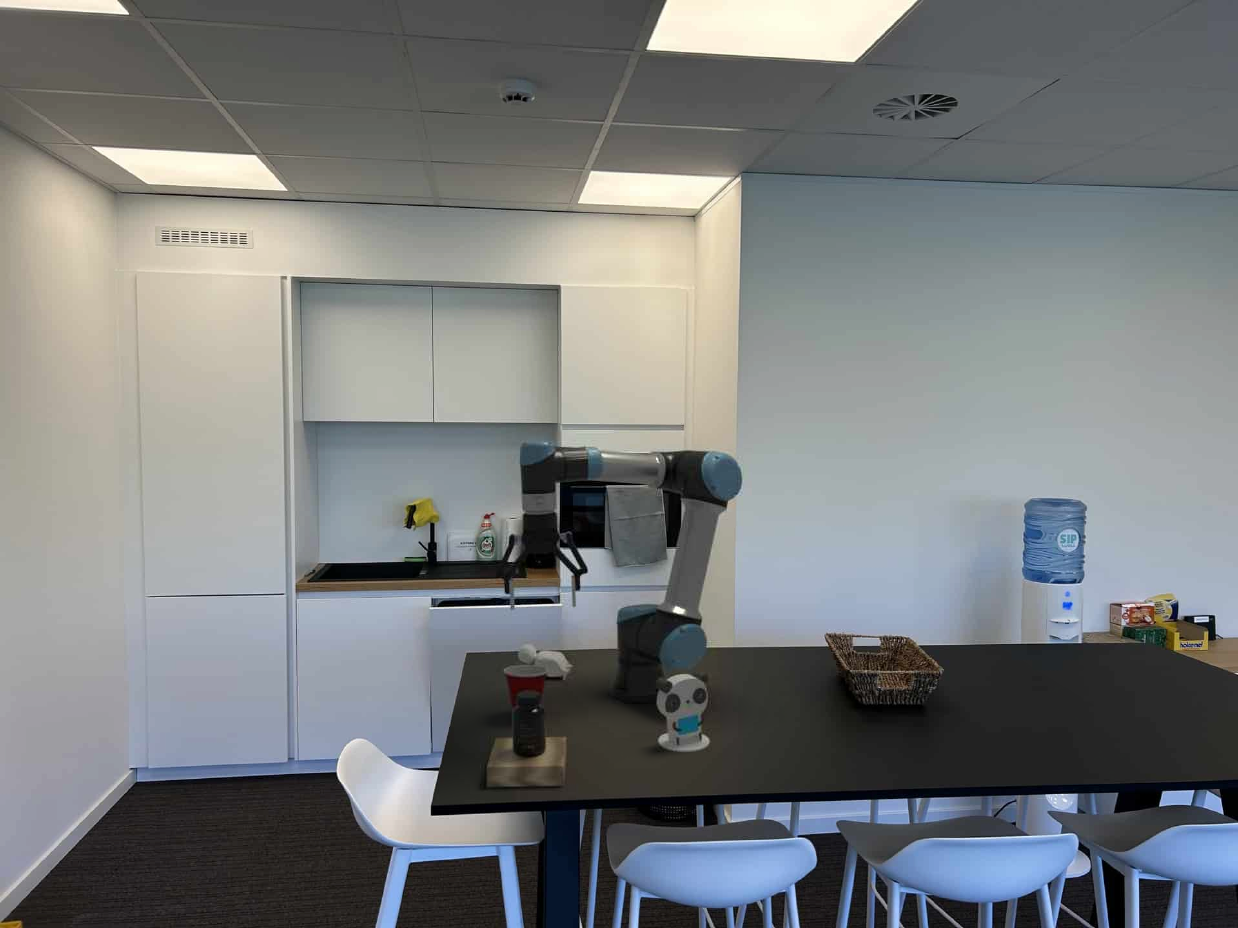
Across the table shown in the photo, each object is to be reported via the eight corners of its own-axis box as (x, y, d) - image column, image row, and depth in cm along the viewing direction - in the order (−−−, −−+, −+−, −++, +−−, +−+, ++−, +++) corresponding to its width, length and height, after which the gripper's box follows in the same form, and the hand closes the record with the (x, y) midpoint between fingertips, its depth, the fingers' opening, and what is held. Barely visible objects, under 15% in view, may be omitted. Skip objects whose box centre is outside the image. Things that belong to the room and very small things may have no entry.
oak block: (566, 755, 187) (566, 736, 186) (563, 785, 172) (563, 765, 171) (496, 756, 186) (496, 737, 186) (487, 786, 171) (486, 766, 171)
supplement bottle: (513, 745, 182) (512, 689, 181) (545, 743, 182) (545, 687, 182) (512, 758, 175) (511, 700, 174) (546, 757, 176) (545, 698, 175)
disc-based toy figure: (672, 756, 186) (672, 687, 185) (646, 738, 196) (646, 672, 195) (719, 745, 191) (719, 678, 190) (691, 728, 201) (691, 665, 200)
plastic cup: (556, 711, 213) (555, 663, 212) (538, 727, 203) (537, 676, 202) (516, 707, 217) (515, 659, 216) (496, 722, 206) (495, 672, 206)
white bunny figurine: (565, 682, 245) (517, 661, 247) (576, 655, 244) (527, 634, 246) (559, 692, 237) (509, 670, 239) (570, 664, 236) (519, 642, 238)
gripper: (480, 516, 187) (485, 613, 189) (596, 511, 188) (600, 608, 190) (483, 511, 194) (488, 605, 196) (595, 507, 196) (599, 600, 197)
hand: (543, 606), depth 193 cm, fingers open, 13 cm apart
